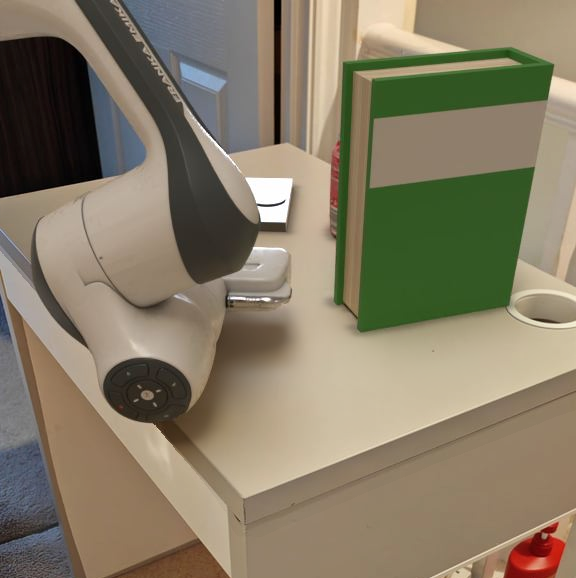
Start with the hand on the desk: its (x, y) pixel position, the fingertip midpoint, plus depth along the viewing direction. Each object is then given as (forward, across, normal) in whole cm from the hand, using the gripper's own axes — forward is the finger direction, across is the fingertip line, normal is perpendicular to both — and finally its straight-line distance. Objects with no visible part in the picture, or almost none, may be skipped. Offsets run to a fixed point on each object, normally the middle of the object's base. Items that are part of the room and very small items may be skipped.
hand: (199, 242), depth 88 cm
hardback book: (0, -24, +7) cm, 25 cm away
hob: (+27, +2, +7) cm, 28 cm away
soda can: (+19, -17, +7) cm, 26 cm away
